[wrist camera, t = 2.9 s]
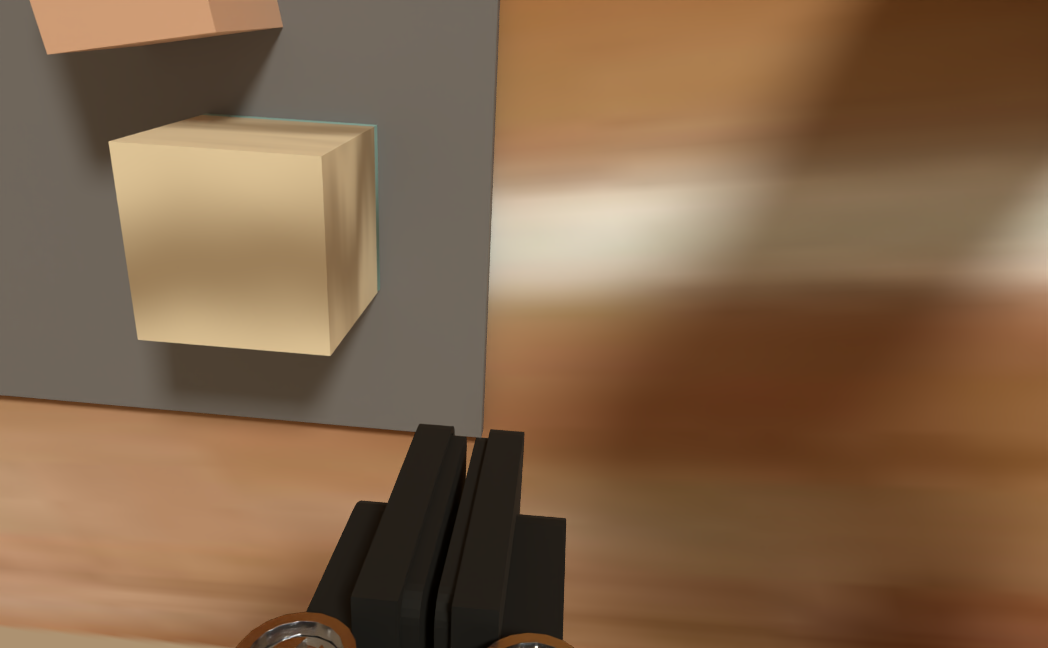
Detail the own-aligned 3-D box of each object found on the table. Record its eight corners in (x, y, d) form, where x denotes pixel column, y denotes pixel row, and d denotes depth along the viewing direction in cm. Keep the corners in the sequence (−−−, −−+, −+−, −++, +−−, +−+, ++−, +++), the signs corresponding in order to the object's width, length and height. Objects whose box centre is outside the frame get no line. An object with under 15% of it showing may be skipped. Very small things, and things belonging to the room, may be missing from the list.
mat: (-323, -107, 26) (-343, -110, 26) (502, -62, 25) (500, -64, 24) (-170, 372, 33) (-183, 378, 33) (482, 430, 32) (480, 437, 31)
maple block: (206, 113, 27) (108, 141, 22) (377, 125, 27) (321, 156, 21) (223, 276, 29) (137, 340, 24) (380, 289, 29) (330, 355, 24)
